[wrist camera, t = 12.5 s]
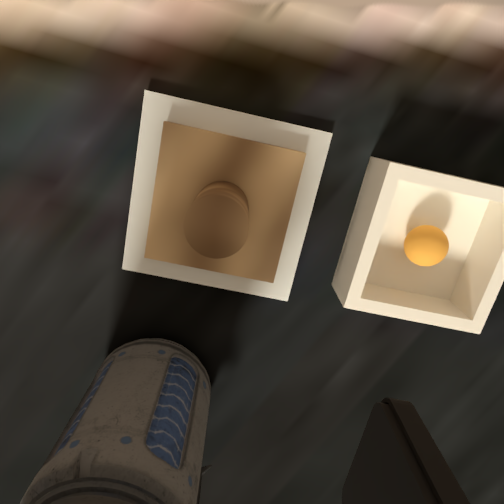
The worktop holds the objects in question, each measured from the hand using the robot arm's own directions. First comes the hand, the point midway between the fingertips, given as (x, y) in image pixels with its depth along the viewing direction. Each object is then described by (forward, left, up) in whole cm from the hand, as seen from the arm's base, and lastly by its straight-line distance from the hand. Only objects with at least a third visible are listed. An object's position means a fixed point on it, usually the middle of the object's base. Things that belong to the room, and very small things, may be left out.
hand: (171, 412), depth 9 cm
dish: (-16, -1, -24) cm, 29 cm away
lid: (0, 0, -23) cm, 23 cm away
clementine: (-16, -1, -23) cm, 28 cm away
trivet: (0, 0, -24) cm, 24 cm away
